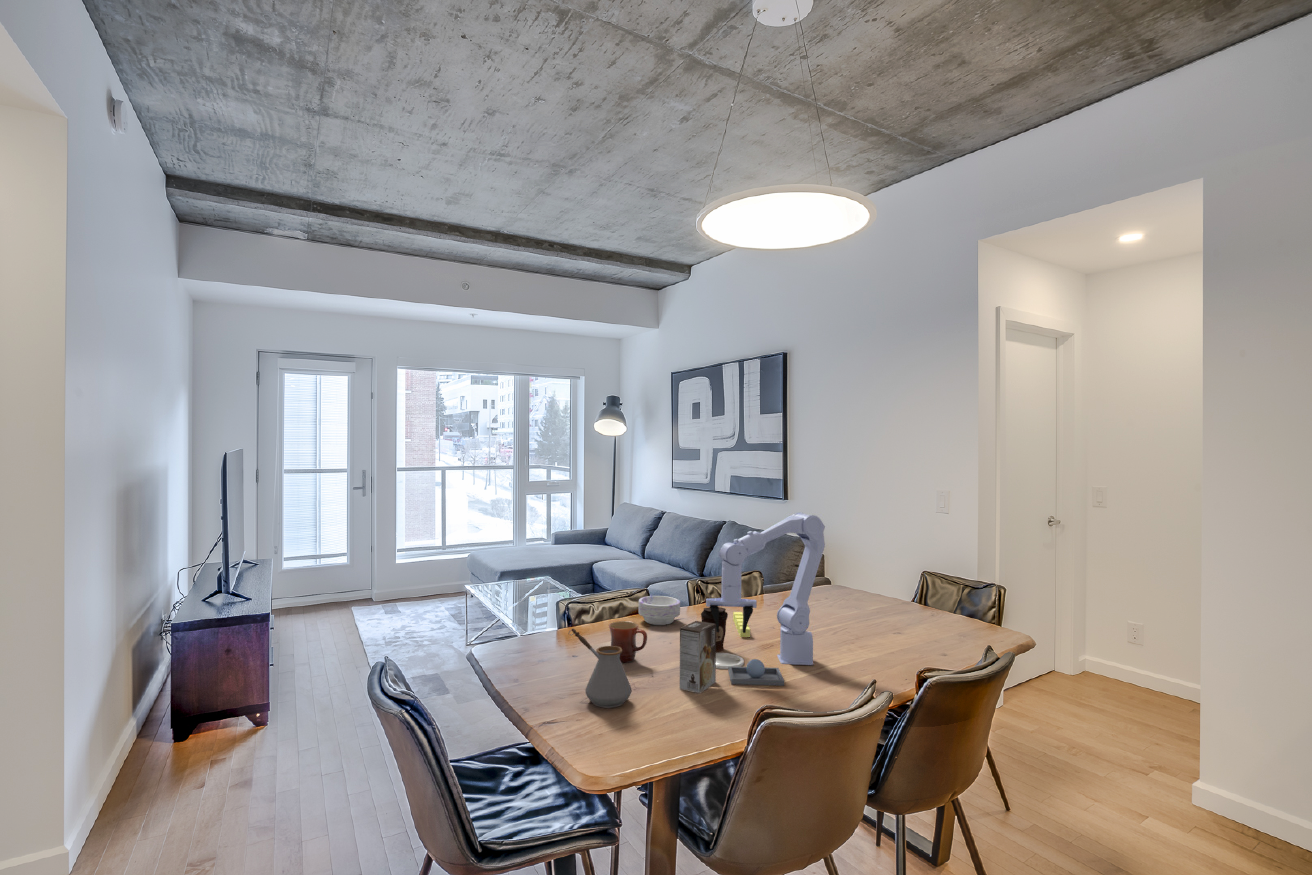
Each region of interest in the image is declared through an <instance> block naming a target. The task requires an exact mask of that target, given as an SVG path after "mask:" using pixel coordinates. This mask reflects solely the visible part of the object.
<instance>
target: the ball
mask: <svg viewBox="0 0 1312 875" xmlns="http://www.w3.org/2000/svg"><path fill="white" fill-rule="evenodd" d="M745 667H746V670H747V673H748V674H749V676H751V677H752V678H760V677H761V676H762V675H763V674H764V672H765V665H764V663H763V661H761V660H760V659H757V658H753V659H750V660H749V661H748V662H747V664H746V666H745Z"/></svg>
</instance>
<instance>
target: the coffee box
mask: <svg viewBox="0 0 1312 875" xmlns="http://www.w3.org/2000/svg"><path fill="white" fill-rule="evenodd" d="M716 653H717V652H716V624H713V623H707V622H702V620H701V621H700V620H695V621H692V622H690V623H689V624H686V625H683V626H681V627H680V628H679V689H680V690H684V691H689V692H692V693H696V694H701V693H702V692H704V691H705V690H707V689H709V688H710V687H711V686H712V685H713V684H716V676H717V675H716V674H717V668H716Z"/></svg>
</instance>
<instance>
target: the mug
mask: <svg viewBox="0 0 1312 875" xmlns="http://www.w3.org/2000/svg"><path fill="white" fill-rule="evenodd" d="M608 628H609V632H610V646H617V647H621V649H622V652H621V653H620V657H619V658H620V661H621V663H622V664H625V663H626V664H627V663H631V662H633V661H634V660H635V659H636V653H637V652H639V651H642V650H643V649H644V648H645V647H646V645H647V642H648V633H647V631H646V630H644V629H639V624H638V623H636V622H632V621H627V620H626V621H623V620H622V621H615V622H611V623H609V624H608ZM637 634H642V637H643V638H642V644H641V645H640V646H637V643H636V642H637V640H636V639H637V638H636V637H637Z"/></svg>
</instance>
